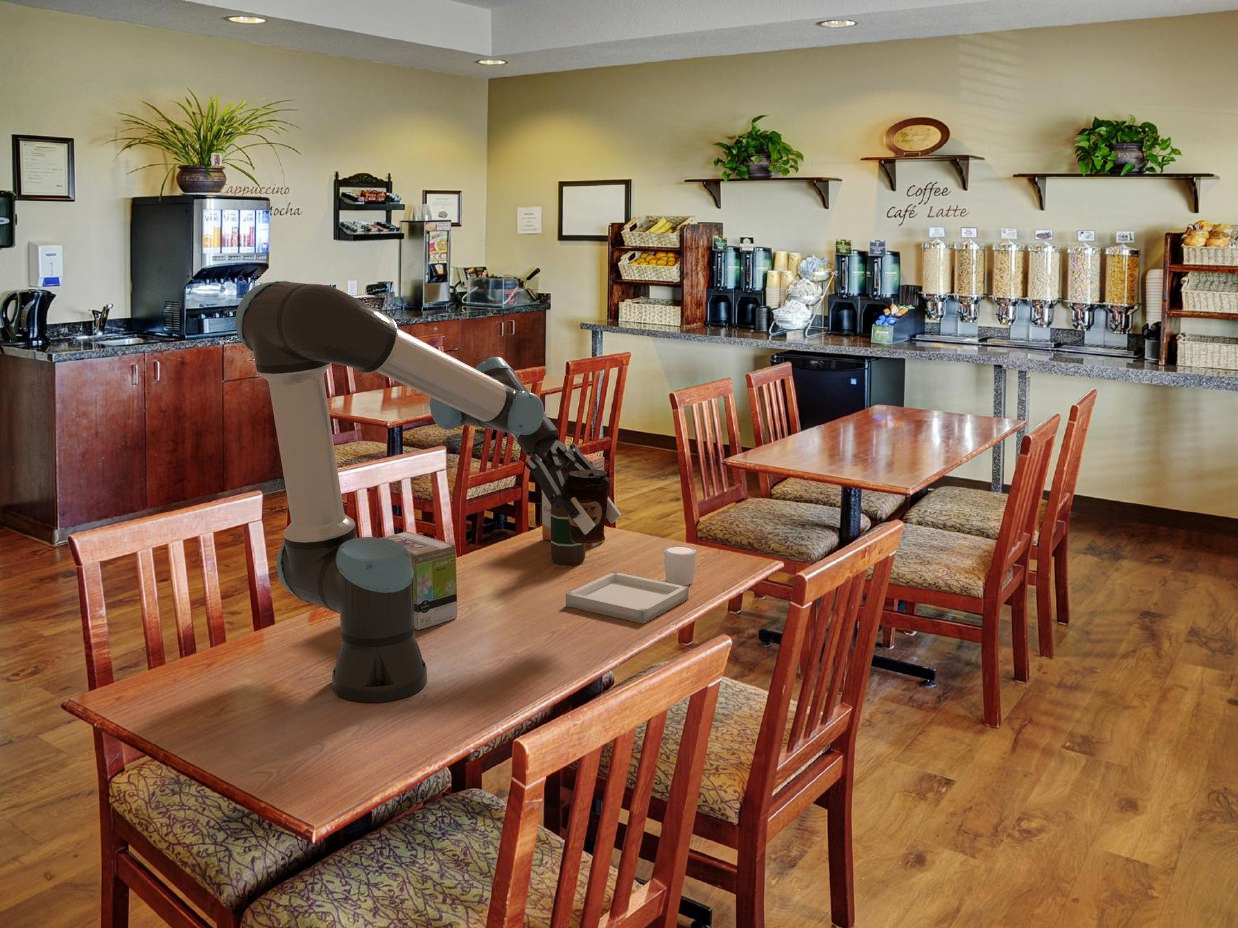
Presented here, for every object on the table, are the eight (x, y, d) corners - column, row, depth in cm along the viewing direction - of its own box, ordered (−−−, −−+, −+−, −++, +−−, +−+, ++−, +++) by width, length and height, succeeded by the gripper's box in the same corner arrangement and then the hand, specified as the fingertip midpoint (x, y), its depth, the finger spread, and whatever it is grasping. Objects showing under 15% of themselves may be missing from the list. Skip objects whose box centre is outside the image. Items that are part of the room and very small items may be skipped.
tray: (643, 623, 210) (643, 611, 210) (565, 605, 220) (565, 593, 219) (688, 598, 224) (688, 587, 224) (613, 583, 234) (613, 571, 233)
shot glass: (679, 574, 240) (679, 543, 238) (702, 582, 235) (703, 550, 233) (656, 581, 235) (656, 549, 234) (679, 589, 230) (680, 556, 229)
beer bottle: (572, 568, 244) (571, 460, 239) (543, 562, 248) (542, 456, 243) (592, 559, 250) (592, 454, 245) (564, 553, 254) (563, 450, 249)
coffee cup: (604, 549, 202) (604, 479, 199) (560, 546, 204) (559, 477, 201) (614, 535, 210) (614, 468, 207) (571, 532, 212) (571, 466, 209)
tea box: (459, 618, 213) (457, 543, 210) (417, 632, 206) (414, 555, 203) (411, 600, 223) (408, 528, 220) (369, 613, 216) (365, 539, 213)
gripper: (553, 432, 220) (622, 523, 215) (485, 450, 203) (558, 550, 198) (575, 408, 216) (645, 500, 211) (507, 425, 199) (582, 525, 194)
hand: (603, 524), depth 205 cm, fingers closed on coffee cup, 8 cm apart
